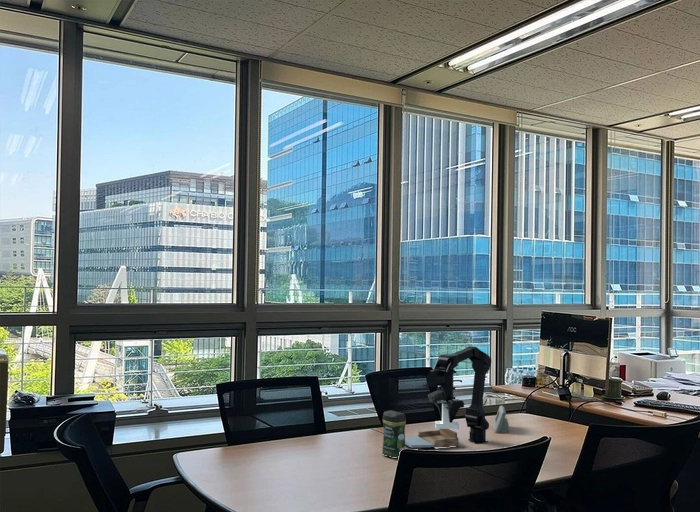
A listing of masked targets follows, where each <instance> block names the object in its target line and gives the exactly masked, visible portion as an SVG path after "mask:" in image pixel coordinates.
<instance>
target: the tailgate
mask: <svg viewBox="0 0 700 512" xmlns="http://www.w3.org/2000/svg"><path fill="white" fill-rule="evenodd" d="M405 446H407V447H409V448H412V449H413V448H414V449H415V448H431V447H434V444H432V443H430V442H428V441H426V440H424V439H422V438H420V437H418V436H405Z"/></svg>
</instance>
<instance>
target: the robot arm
mask: <svg viewBox="0 0 700 512" xmlns="http://www.w3.org/2000/svg"><path fill="white" fill-rule="evenodd" d="M466 360H470V361H471V368H472V370H473V372H474V378H473V385H472V394H471V402H470V403H471V404H470V405H469V407H467V408H466V409H465V415H464V417H465V421H466V426H467V428H470V429H469V439H467V441H469V440H470V441H469V442H471V441H472V442H471V443H473V442H474V443H473V444H476V443H477V444H484V443H483V442H487V443H488V442H489V441H488V440H487V439H486V438H487V435H486V434H487V433H486V432H487V430H488V429H489V428H490V422H488V420H487V419H486V412H485V410H484V407H483V403H484V394H485V393H484V392H485V383H486V376H487V374H488V372H489V371H490V369H491V365H492V358H491V357H490V355H489V354H487V353H486V352H484V351H482V350H480V349H479V348H478V347H477V346H470V345H469V346H467V347H466V348H463V349H461V350H459V351H456V352H454V353H444V354H440V355H439V356H438V358H437V360H436V362H435V365H434V367H433V369H431V370H429V373H428V374H427V376H426V379H425V380H426V384H427V385H428V386H429V387H430V388H434V387H437V390H434V391H433V392H430V393H428V394H427V397H428V401H429V403H432V404H433V405H436V407H437V409H438V412H439V416H440V419H441V420H442V404H447V405H448V407H446V408H447V409H448V412H449V421H450V423H452V422H454V421H455V420H454V419H455V417H456V415H457V414H458V412H459V410H460V409H462V408H465V402H464V401H463V400H462V399H458V398H457V399H456V396H454V390H455V391H456V387H455V386H454V374H457V370H455V368H457V367H458V365H459V363H461V362H463V361H466Z"/></svg>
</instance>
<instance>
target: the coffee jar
mask: <svg viewBox="0 0 700 512" xmlns="http://www.w3.org/2000/svg"><path fill="white" fill-rule="evenodd" d="M382 424H383V439H382V440H383V441H382V453H381V454H382V455H383V454H384V455H387V456H391V457H397V458H398V456H399V452H400V451H401V450H402V449H407V448H406V444H405V437H406V435H405V434H406V433H405V432H406V431H405V429H406V424H407V418H406V414H405V413H403V412H400V411H396V410H391V409H390V410H385V411H384V412H383V415H382ZM384 455H383V456H384Z"/></svg>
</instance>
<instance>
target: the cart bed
mask: <svg viewBox="0 0 700 512" xmlns="http://www.w3.org/2000/svg"><path fill="white" fill-rule="evenodd" d="M417 434H418V435H417V437H420V438H422V439H424V440H426V441H428V442H430V443H432V444H434V447H450V446H458V447H459V437H458V432H456V431H455V430H453V429H436V430H435V429H433V430H424V431H418V432H417Z"/></svg>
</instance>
